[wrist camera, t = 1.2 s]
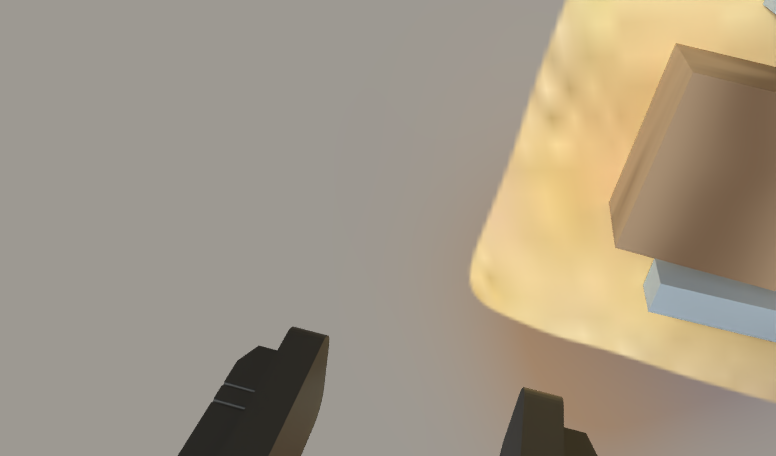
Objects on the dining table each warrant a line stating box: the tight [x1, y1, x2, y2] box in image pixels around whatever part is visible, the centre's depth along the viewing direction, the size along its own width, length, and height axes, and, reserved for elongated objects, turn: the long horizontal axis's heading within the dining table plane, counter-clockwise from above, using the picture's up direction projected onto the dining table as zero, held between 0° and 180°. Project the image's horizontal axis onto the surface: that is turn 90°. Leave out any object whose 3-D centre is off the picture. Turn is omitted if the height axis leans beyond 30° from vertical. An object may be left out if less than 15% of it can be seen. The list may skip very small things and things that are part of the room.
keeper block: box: [609, 43, 776, 291], centre depth 24 cm, size 6×7×4 cm
